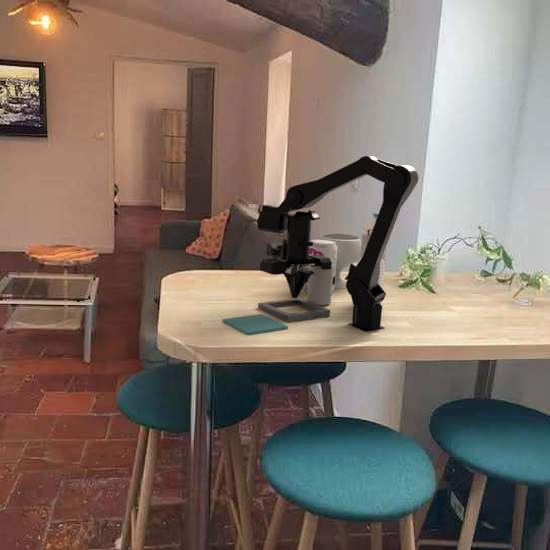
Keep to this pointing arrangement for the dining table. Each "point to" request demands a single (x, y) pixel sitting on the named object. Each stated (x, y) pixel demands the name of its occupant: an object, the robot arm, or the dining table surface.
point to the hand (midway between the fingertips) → (294, 297)
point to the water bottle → (365, 238)
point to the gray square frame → (314, 313)
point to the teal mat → (255, 324)
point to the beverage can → (320, 286)
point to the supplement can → (324, 254)
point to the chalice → (344, 253)
